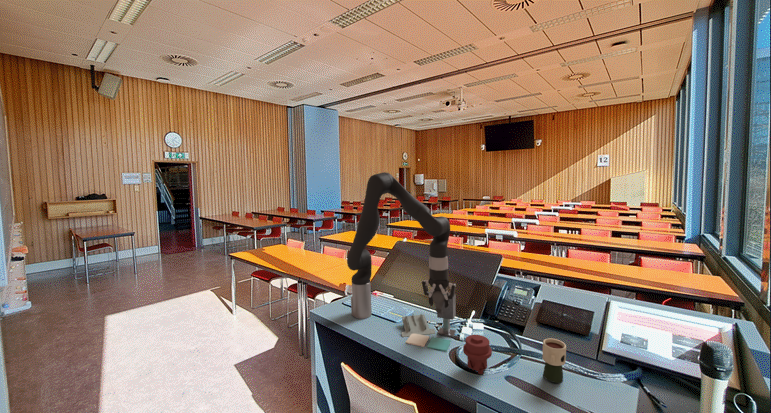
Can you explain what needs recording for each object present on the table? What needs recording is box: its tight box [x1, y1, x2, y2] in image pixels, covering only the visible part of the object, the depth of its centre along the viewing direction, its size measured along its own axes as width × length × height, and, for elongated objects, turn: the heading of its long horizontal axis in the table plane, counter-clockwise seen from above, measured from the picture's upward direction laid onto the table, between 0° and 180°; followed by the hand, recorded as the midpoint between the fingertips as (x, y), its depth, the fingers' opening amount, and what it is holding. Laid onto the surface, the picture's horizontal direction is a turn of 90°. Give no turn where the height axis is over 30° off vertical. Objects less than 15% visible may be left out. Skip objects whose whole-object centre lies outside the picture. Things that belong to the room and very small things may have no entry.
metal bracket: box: [401, 313, 437, 338], centre depth 154 cm, size 14×6×15 cm
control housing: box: [436, 291, 457, 338], centre depth 148 cm, size 7×5×18 cm
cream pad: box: [405, 333, 430, 348], centre depth 144 cm, size 8×8×1 cm
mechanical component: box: [462, 334, 493, 375], centre depth 122 cm, size 12×10×10 cm
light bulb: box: [432, 291, 445, 314], centre depth 137 cm, size 6×6×10 cm
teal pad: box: [427, 336, 452, 352], centre depth 140 cm, size 8×8×1 cm
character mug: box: [542, 338, 567, 384], centre depth 116 cm, size 11×7×13 cm, turn 149°
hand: (438, 306), depth 138 cm, fingers closed on light bulb, 5 cm apart
